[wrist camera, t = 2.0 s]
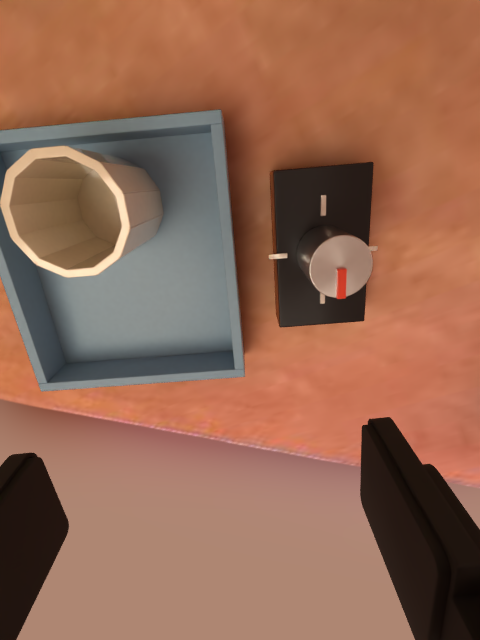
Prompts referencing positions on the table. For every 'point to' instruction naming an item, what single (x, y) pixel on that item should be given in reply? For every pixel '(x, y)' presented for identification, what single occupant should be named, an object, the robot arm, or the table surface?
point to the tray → (137, 266)
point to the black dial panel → (305, 214)
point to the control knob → (334, 261)
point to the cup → (79, 209)
